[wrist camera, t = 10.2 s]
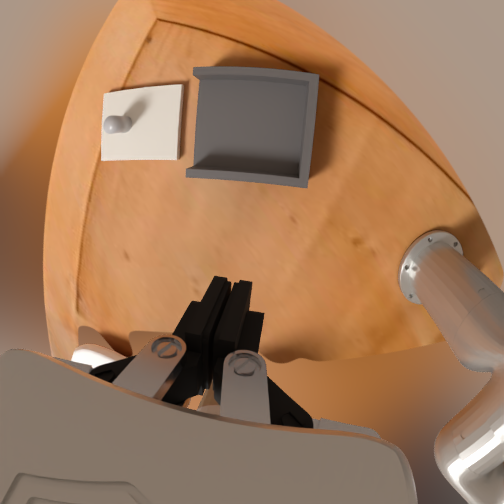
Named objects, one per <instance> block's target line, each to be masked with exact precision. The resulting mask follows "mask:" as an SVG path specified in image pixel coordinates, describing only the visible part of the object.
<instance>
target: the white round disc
mask: <svg viewBox="0 0 504 504" xmlns="http://www.w3.org/2000/svg"><path fill="white" fill-rule="evenodd" d="M125 358H127V357H125V356H123V355H121V354H119V353H117V352H115V351H113V350H110V349H108V348H106V347H103V346H100V345H97V344H89V343H86V344H84V345H81V346H78V347H76V349H75V351H74V353H73V356H72V361H73V362H78V363H83V364H88V365H92V368H95V367H97V366H100V365H103V364H106V363H110V362H114V361H118V360H121V359H125Z"/></svg>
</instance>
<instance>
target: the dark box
mask: <svg viewBox="0 0 504 504" xmlns="http://www.w3.org/2000/svg"><path fill="white" fill-rule="evenodd" d="M193 76H195V77H196V78H198V79H199V80H200V83H199V93H198V105H197V117H196V131H195V148H194V166H192V167H190V168H187V169H186V177H189V178H207V179H221V180H234V181H246V182H256V183H266V184H276V185H284V186H293V187H300V188H307V187H308V179H309V171H310V163H311V155H312V146H313V137H314V127H315V118H316V107H317V96H318V84H319V75H318V74H312V73H305V72H298V71H290V70H281V69H270V68H256V67H194V68H193Z"/></svg>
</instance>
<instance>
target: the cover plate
mask: <svg viewBox="0 0 504 504" xmlns="http://www.w3.org/2000/svg"><path fill="white" fill-rule="evenodd" d="M183 95H184V85H182V84H178V85H164V86H153V87H144V88H136V89H129V90H122V91H116V92H110V93H105V94H104V100H103V115H102V140H101V161H109V160H178V159H179V156H180V135H181V119H182V106H183Z"/></svg>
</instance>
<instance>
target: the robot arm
mask: <svg viewBox="0 0 504 504" xmlns="http://www.w3.org/2000/svg"><path fill="white" fill-rule="evenodd" d="M398 282H399V287H400V289H401V291H402V293H403V294H404V296H405V297H406V298H407V299H408V300H409V301H411V302H413V303H416V304H423V306H424V307H425V309H426V310H427V312H428V313H429V315H430V316H431V318H432V319H433V321H434V322H435V324H436V325H437V327H438V328H439V330H440V331H441V333H442V334H443V336H444V338H445V339H446V341H447V342H448V344H449V345H450V347H451V349H452V350H453V352H454V353H455V355H456V357H457V359H458V360H459V361H460V363H461V364H462V365H463V366H464V367H466V368H467V369H469V370H472V371H477V372H491V373H492V376H491V378H490V380H489V381H488V382H487V384H486V385H485V386H484V387H483V388H482V390H481V391H480V392H479V393H478V394H477V395H476V396H475V397H474V398H473V399H472V400H471V401H470V402H469V403H468V404H467V405H466V406H465V407H464V408H463V409H462V410H461V411H459V412H458V413H457V414H456V415H455V416H454V417H453V418H452V419H451V420H450V421H449V422H447V423H446V424H445V425H444V427H443V428H442V429H441V430H440V432H439V434H438V435H437V438H436V440H435V444H434V455H435V460H436V463H437V465H438V467H439V469H440V471H441V472H442V474H443V476H444V477H445V478H446V479H447V481H448V482H449V483H450V484H451V485H452V486H453V487H454V488H455V489H456V490H457V491H458V493H460V495H461V496H462V497H463V498H464V499H465V500H466V501H467V502H468V503H469V504H504V292H503V291H501V289H499V288H498V287H497V286H496V285H495V284H494V283H493V282H492V281H491V280H490V279H489V278H488V277H487V276H486V275H485V274H483V273H482V272H481V271H480V270H479V269H478V268H477V267H476V266H474V265H473V264H472V263H471V262H470V261H469V260H467V259H466V258H465V257H464V256H463V250H462V246H461V244H460V242H459V241H458V240H457V238H456V237H455V236H453V235H452V234H451V233H449V232H447V231H443V230H434V231H430V232H427V233H425V234H423V235H422V236H420V237H419V238H418V239H416V240H415V241H414V242H413V243H412V244H411V245H410V247H409V248H408V250H407V251H406V252H405V254H404V256H403V258H402V261H401V264H400V267H399V272H398ZM251 290H252V282H250V281H244V280H240V281H239V283H236V282H235V283H234V285H233V288H232V290H231V282H229V281H227V278H225V277H219V276H214V278H213V280H212V282H211V284H210V285H209V287H208V289H207V291H206V293H205V295H204V297H203V299H202V300H201V302H197V301H192V302H191V303H190V305H189V306H188V308H187V310H186V311H185V313H184V315H183V317H182V318H181V320H180V322H179V324H178V325H177V327H176V329H175V331H174V332H173V334H172V335H169V334H167V335H166V334H164V335H159V336H157V337H154V338H153V339H152V340H151V341H149V342H148V344H147V345H146V346H145V347H144V348H143V349H142V350H141V352H139V353H138V355H135V356H132V357H128V358H125V359H121V360H118V361H114V362H110V363H106V364H103V365H100V366H97V367H95V368H92V365H88V364H83V363H78V362H73V361H69V360H64V359H60V358H56V357H50V356H48V355H45V354H42V353H39V352H35V351H32V350H26V349H11V350H8V351H6V352H4V353H2V354H1V355H0V504H418V502H417V494H416V488H415V483H414V479H413V475H412V471H411V468H410V465H409V463H408V460H407V458H406V457H405V455H404V454H403V452H402V451H401V450H400V449H399V448H398V447H396V446H395V445H393V444H391V443H389V442H387V441H385V440H382V439H381V438H380V436H379V434H378V433H377V432H376V431H374V430H372V429H370V428H366V427H360V426H355V425H350V424H345V423H340V422H336V421H331V420H327V419H323V418H321V419H320V420H316V419H312V418H311V416H310V415H309V414H308V413H307V412H306V411H305V410H304V409H303V408H301V407H300V406H299V405H298V404H297V403H296V402H295V401H293V400H292V399H291V398H290V397H289V396H288V395H287V394H286V393H285V392H284V391H283V390H282V389H280V388H279V387H278V386H277V385H276V384H275V383H274V382H273V381H272V380H271V379H270V378H269V377H268V376H267V370H266V364H265V360H264V359H263V358H262V357H261V356H260V355H259V354H258V349H259V343H260V337H261V331H262V325H263V319H264V313H261V312H254V311H249V307H250V298H251ZM212 380H213V391H214V399H215V400H216V402H217V403H218V404H219V405H220V416H218V415H214V414H209V413H205V412H200V411H196V410H192V409H188V408H187V407H188V405H189V403H190V400H191V397H193V396H196V395H203V393H204V389H208V390H209V389H210V386H211V383H212Z"/></svg>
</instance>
